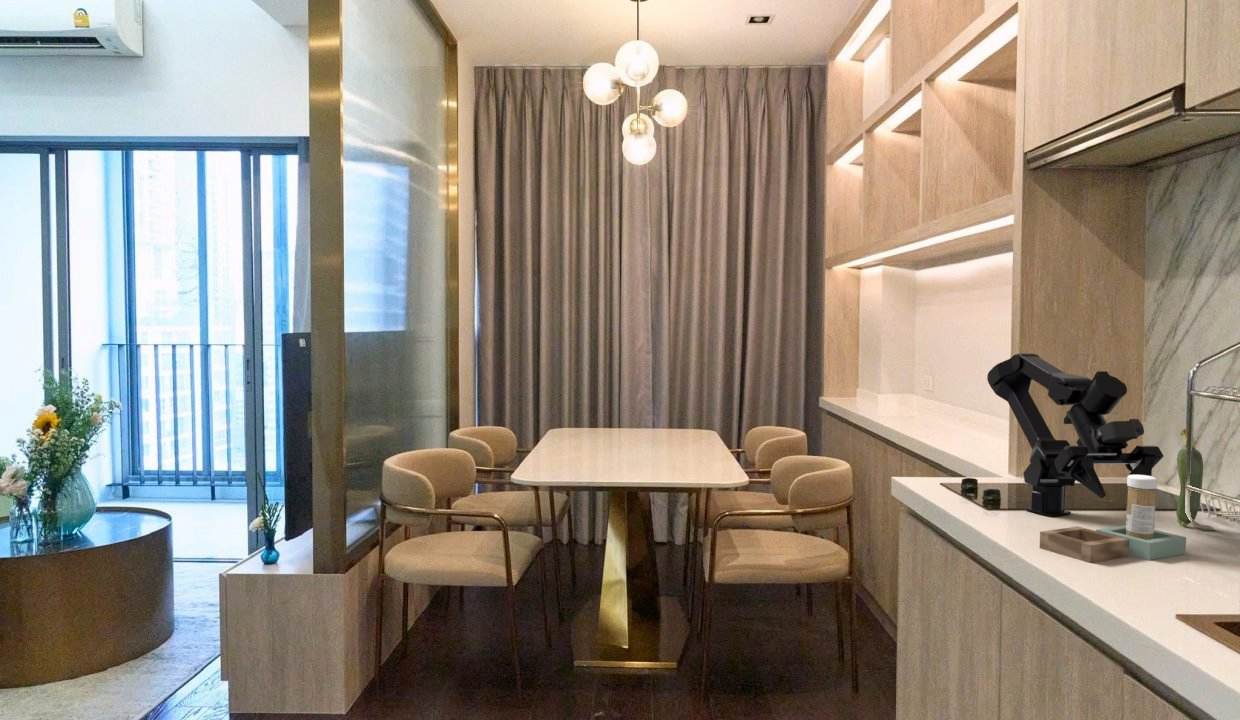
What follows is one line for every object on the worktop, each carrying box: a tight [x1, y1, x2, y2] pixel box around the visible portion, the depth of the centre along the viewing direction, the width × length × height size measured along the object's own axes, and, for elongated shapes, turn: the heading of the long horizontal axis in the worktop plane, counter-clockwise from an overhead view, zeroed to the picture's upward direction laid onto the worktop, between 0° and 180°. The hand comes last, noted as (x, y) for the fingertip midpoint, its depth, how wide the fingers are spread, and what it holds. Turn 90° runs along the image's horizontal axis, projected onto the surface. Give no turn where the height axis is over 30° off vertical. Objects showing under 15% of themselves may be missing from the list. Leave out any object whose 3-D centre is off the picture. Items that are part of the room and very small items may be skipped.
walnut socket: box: [1039, 526, 1130, 563], centre depth 150 cm, size 10×10×3 cm
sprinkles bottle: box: [1125, 474, 1158, 540], centre depth 152 cm, size 5×5×14 cm
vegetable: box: [1176, 428, 1204, 528], centre depth 168 cm, size 4×4×20 cm
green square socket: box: [1095, 524, 1187, 561], centre depth 152 cm, size 10×10×3 cm
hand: (1127, 496), depth 155 cm, fingers open, 9 cm apart
